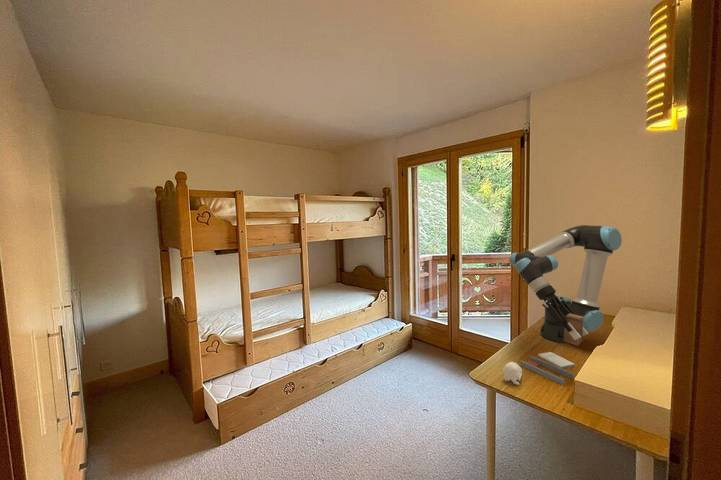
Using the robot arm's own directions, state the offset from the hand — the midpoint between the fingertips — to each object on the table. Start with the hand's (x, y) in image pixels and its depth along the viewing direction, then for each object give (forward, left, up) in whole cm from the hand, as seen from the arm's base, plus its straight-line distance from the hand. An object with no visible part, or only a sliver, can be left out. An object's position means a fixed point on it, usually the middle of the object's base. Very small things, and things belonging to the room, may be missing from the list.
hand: (581, 336), depth 120 cm
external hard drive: (-12, -14, -21) cm, 28 cm away
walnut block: (0, -3, -3) cm, 5 cm away
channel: (+2, -12, -20) cm, 24 cm away
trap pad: (+2, -18, -20) cm, 27 cm away
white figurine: (+20, -16, -21) cm, 33 cm away
